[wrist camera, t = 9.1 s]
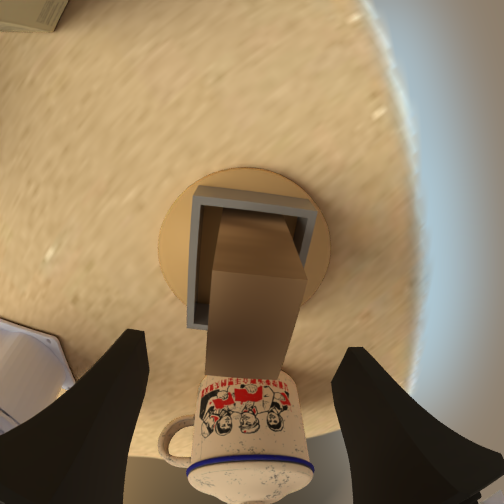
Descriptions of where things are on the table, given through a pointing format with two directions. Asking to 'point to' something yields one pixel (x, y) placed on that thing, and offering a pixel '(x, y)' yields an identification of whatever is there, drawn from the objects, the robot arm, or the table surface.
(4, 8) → the skincare box
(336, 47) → the table surface
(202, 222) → the grey open box
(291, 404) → the teacup with lid
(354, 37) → the table surface
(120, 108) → the table surface
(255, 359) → the brown wooden block
